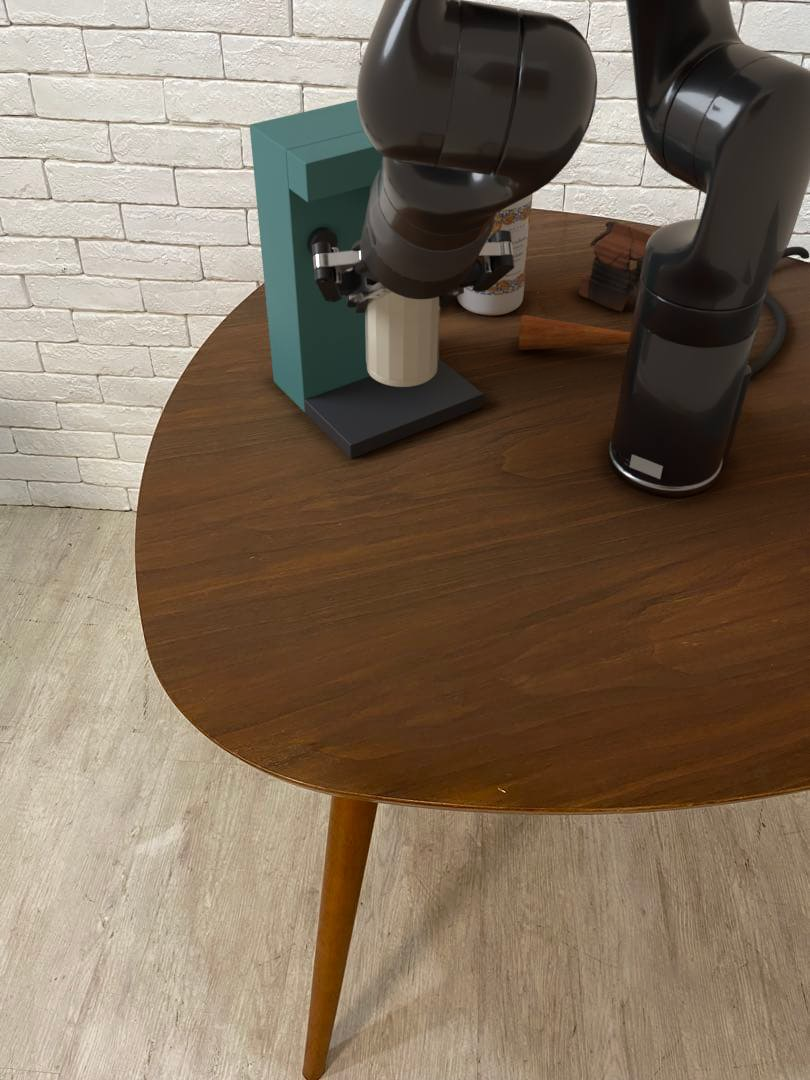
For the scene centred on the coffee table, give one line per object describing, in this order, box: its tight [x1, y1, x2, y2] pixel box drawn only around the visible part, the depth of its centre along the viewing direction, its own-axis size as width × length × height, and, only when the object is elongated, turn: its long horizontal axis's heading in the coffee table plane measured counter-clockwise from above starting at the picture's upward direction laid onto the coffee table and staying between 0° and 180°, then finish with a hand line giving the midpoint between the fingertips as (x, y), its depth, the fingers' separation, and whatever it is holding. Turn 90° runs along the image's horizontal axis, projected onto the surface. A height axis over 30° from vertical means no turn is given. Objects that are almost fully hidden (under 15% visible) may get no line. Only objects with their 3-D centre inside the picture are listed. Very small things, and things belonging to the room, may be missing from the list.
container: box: [365, 292, 441, 387], centre depth 80 cm, size 6×6×9 cm
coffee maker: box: [249, 99, 484, 459], centre depth 89 cm, size 14×14×24 cm
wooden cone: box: [518, 314, 631, 351], centre depth 100 cm, size 6×6×20 cm
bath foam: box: [456, 194, 533, 316], centre depth 103 cm, size 7×7×20 cm
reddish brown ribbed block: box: [578, 221, 653, 313], centre depth 109 cm, size 12×10×8 cm
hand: (399, 297), depth 80 cm, fingers closed on container, 5 cm apart
